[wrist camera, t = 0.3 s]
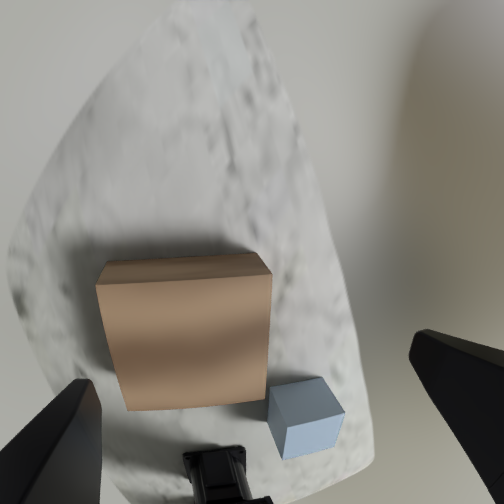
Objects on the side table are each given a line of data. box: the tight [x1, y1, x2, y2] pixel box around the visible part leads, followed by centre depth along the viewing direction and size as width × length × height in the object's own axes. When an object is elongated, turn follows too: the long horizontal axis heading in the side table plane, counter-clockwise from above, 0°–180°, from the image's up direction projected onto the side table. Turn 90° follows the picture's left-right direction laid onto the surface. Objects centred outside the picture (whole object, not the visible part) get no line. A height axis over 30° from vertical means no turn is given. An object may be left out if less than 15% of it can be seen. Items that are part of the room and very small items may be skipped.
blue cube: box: [267, 377, 345, 460], centre depth 25 cm, size 5×5×5 cm
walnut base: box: [95, 253, 272, 411], centre depth 20 cm, size 10×10×4 cm
